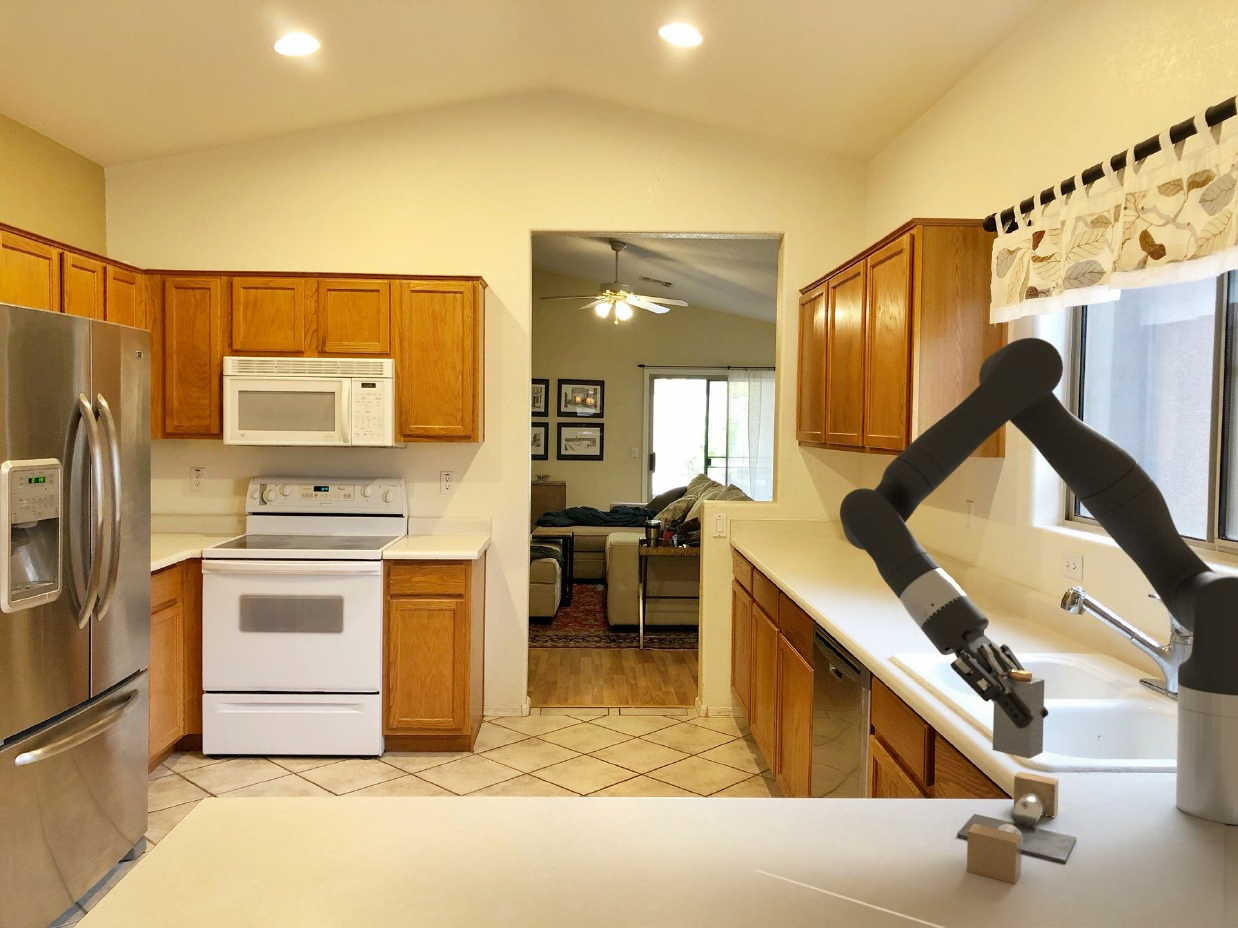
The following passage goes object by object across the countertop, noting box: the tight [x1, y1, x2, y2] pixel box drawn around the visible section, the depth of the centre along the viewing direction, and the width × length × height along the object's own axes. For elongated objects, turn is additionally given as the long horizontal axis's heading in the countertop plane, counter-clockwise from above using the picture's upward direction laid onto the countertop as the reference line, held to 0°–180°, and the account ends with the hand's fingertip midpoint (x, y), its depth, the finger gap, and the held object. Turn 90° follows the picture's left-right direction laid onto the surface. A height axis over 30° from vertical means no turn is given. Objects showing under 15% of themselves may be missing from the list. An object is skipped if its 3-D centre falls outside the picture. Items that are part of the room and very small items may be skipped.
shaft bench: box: [956, 771, 1077, 885], centre depth 107 cm, size 29×12×4 cm, turn 145°
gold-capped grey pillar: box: [992, 670, 1045, 759], centre depth 108 cm, size 4×4×10 cm
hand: (1034, 720), depth 106 cm, fingers closed on gold-capped grey pillar, 4 cm apart
